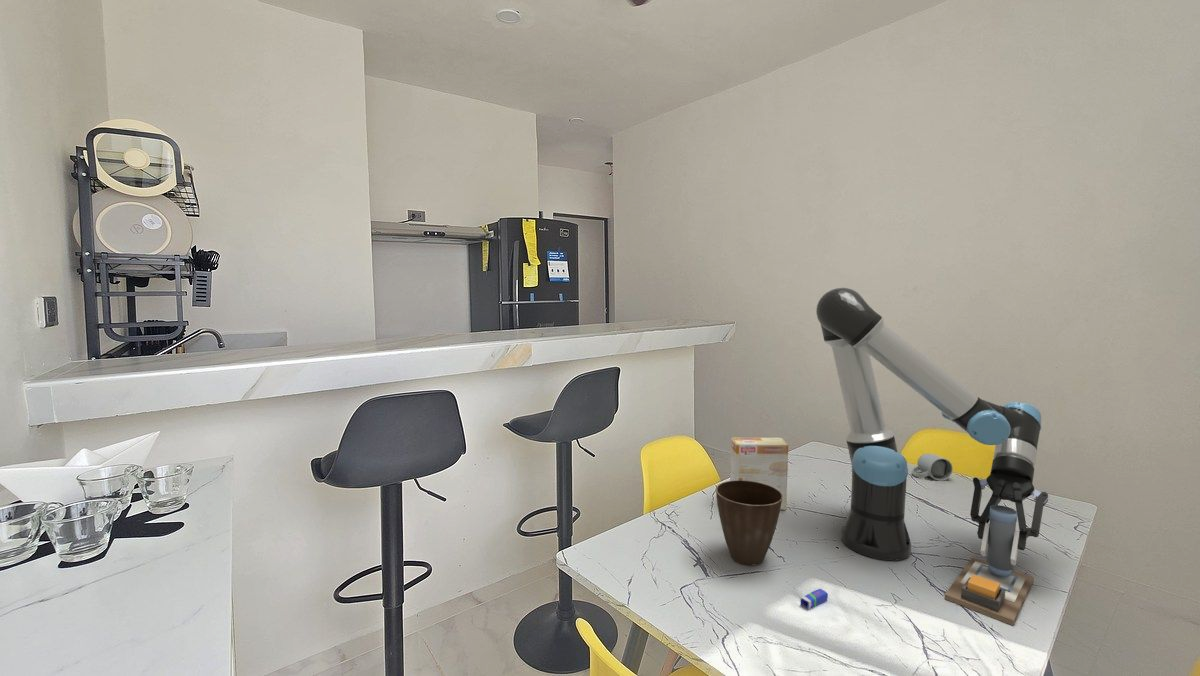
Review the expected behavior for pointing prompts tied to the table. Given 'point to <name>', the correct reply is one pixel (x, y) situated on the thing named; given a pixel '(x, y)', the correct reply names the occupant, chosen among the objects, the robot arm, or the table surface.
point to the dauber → (1001, 539)
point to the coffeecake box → (761, 462)
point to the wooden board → (1000, 609)
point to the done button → (984, 586)
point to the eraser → (814, 598)
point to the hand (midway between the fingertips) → (997, 557)
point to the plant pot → (748, 518)
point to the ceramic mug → (933, 467)
